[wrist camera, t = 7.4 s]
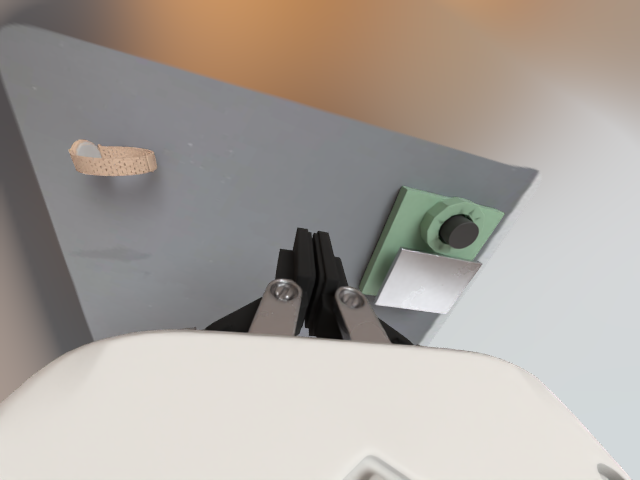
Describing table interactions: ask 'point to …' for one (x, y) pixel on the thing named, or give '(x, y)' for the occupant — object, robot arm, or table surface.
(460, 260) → the brushed metal plate
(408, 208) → the scale
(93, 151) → the perforated watch strap
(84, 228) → the table surface
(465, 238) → the button
